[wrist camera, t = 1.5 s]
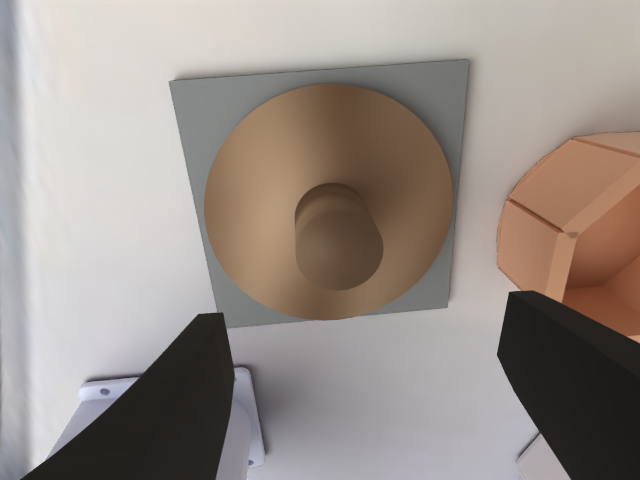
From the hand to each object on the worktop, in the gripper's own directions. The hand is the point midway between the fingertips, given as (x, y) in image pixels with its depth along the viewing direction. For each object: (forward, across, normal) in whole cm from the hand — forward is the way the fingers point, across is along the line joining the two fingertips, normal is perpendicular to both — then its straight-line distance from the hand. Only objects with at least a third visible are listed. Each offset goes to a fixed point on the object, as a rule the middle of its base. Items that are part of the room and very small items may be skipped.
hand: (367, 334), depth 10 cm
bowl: (+10, -13, +2) cm, 16 cm away
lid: (+9, 0, 0) cm, 9 cm away
